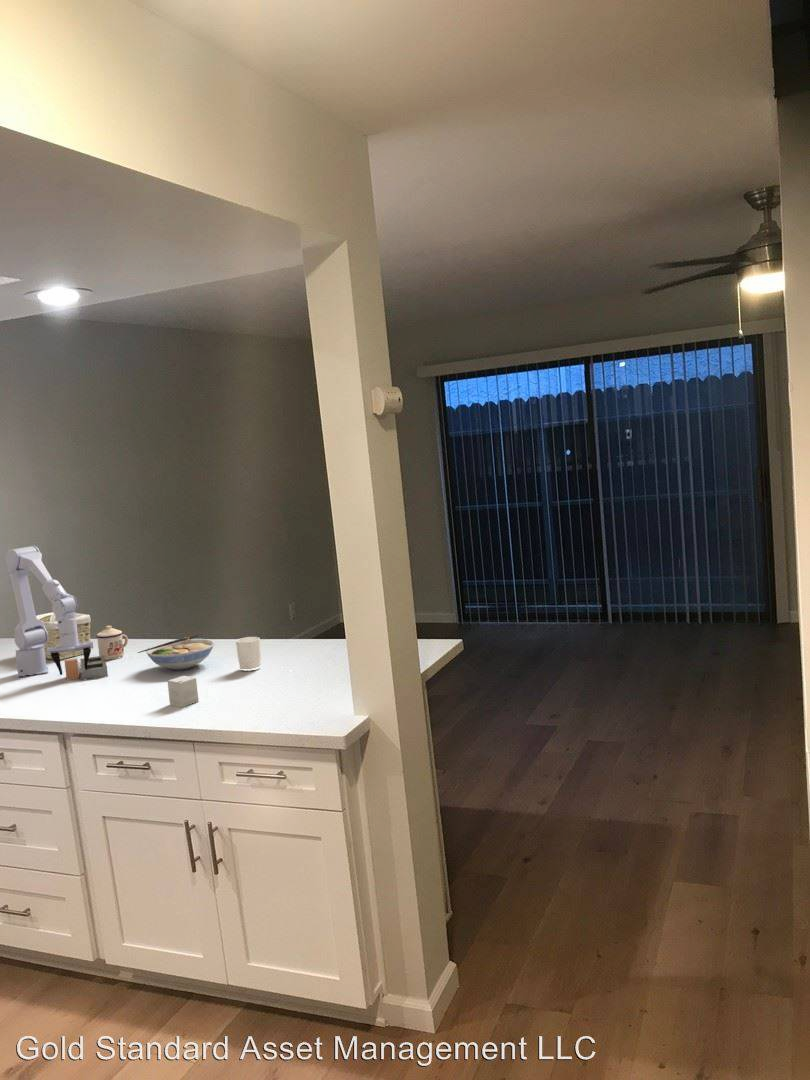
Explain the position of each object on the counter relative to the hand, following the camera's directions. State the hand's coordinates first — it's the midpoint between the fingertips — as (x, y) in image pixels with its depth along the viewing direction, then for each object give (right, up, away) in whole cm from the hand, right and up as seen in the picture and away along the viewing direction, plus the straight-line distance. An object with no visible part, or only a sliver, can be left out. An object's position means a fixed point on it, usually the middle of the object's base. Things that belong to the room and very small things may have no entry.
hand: (73, 672), depth 305 cm
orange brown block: (0, -2, 0) cm, 2 cm away
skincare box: (+47, -3, -41) cm, 62 cm away
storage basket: (-19, +1, +39) cm, 43 cm away
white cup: (+61, +2, -6) cm, 61 cm away
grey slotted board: (+5, -1, +6) cm, 8 cm away
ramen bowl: (+36, +1, +3) cm, 36 cm away
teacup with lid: (+5, +2, +28) cm, 28 cm away
